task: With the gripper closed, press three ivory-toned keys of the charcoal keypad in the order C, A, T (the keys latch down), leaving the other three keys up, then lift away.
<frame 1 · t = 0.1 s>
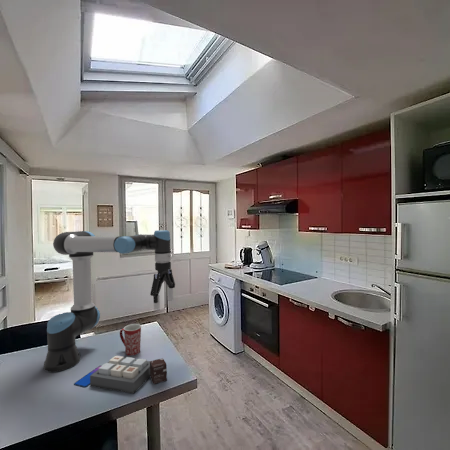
hand: (164, 304, 129), 28 cm above the table, fingers open, 13 cm apart
key R: (128, 363, 119), point 5 cm above the table, slide at 0.0 cm
keypad: (123, 378, 116), on the table
box: (158, 379, 115), on the table
key A: (116, 361, 120), point 5 cm above the table, slide at 0.0 cm
key E: (139, 364, 117), point 5 cm above the table, slide at 0.0 cm
key O: (106, 369, 114), point 5 cm above the table, slide at 0.0 cm
mug: (130, 352, 140), on the table
key C: (130, 372, 111), point 5 cm above the table, slide at 0.0 cm
smartphone: (93, 377, 118), on the table
key T: (118, 371, 112), point 5 cm above the table, slide at 0.0 cm
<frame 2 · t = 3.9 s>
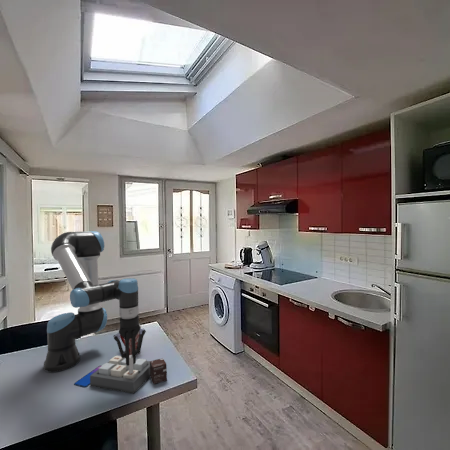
hand: (131, 371, 111), 6 cm above the table, fingers closed
key C: (130, 376, 111), point 4 cm above the table, slide at -1.3 cm, touching gripper
everything else where it was.
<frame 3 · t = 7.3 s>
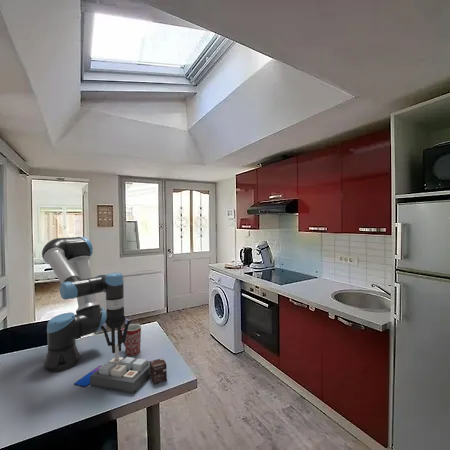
hand: (116, 358, 120), 7 cm above the table, fingers closed
key A: (116, 362, 120), point 5 cm above the table, slide at -0.5 cm, touching gripper
key C: (130, 377, 111), point 3 cm above the table, slide at -1.7 cm
everything else where it was.
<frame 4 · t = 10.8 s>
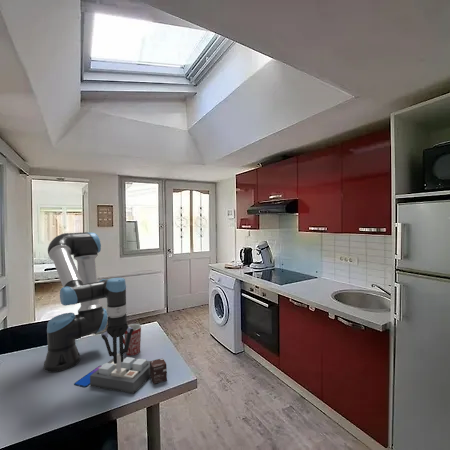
hand: (118, 369, 112), 6 cm above the table, fingers closed
key A: (116, 365, 120), point 3 cm above the table, slide at -1.7 cm
key T: (118, 374, 112), point 4 cm above the table, slide at -1.3 cm, touching gripper
everything else where it was.
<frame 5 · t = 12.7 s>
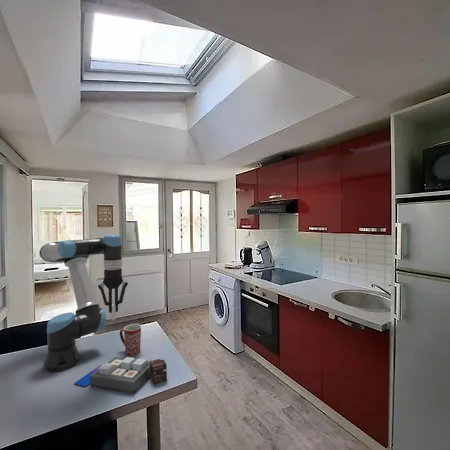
hand: (113, 319, 122), 24 cm above the table, fingers closed
key T: (118, 375, 112), point 3 cm above the table, slide at -1.7 cm
everything else where it was.
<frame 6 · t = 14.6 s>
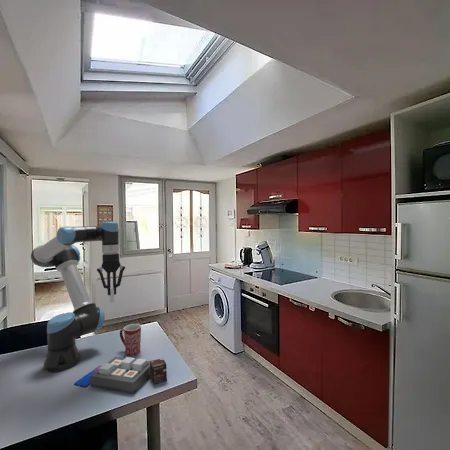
hand: (112, 301, 128), 30 cm above the table, fingers closed
nothing on the table moved.
at the end: key C slide at -1.7 cm; key A slide at -1.7 cm; key T slide at -1.7 cm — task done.
